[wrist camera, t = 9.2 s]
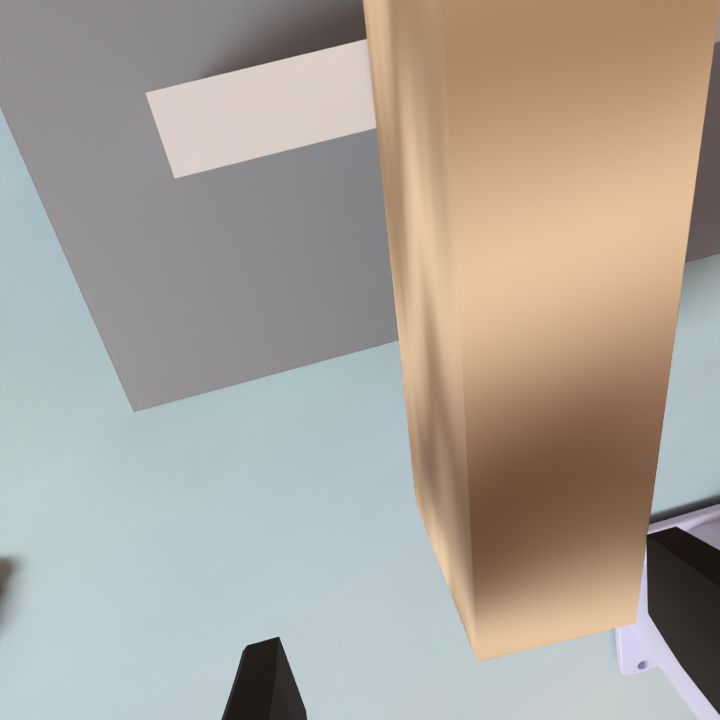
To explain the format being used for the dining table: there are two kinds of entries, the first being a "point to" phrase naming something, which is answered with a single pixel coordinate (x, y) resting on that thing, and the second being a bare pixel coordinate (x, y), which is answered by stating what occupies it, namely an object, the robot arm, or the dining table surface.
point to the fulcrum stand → (223, 180)
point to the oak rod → (538, 287)
